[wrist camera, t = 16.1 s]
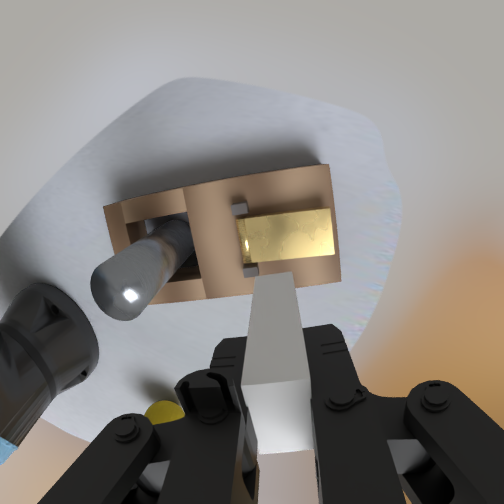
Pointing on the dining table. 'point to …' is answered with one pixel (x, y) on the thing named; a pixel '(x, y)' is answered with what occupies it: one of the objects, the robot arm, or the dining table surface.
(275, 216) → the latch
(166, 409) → the lemon
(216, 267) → the block
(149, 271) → the peg
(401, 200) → the dining table surface
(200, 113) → the dining table surface
